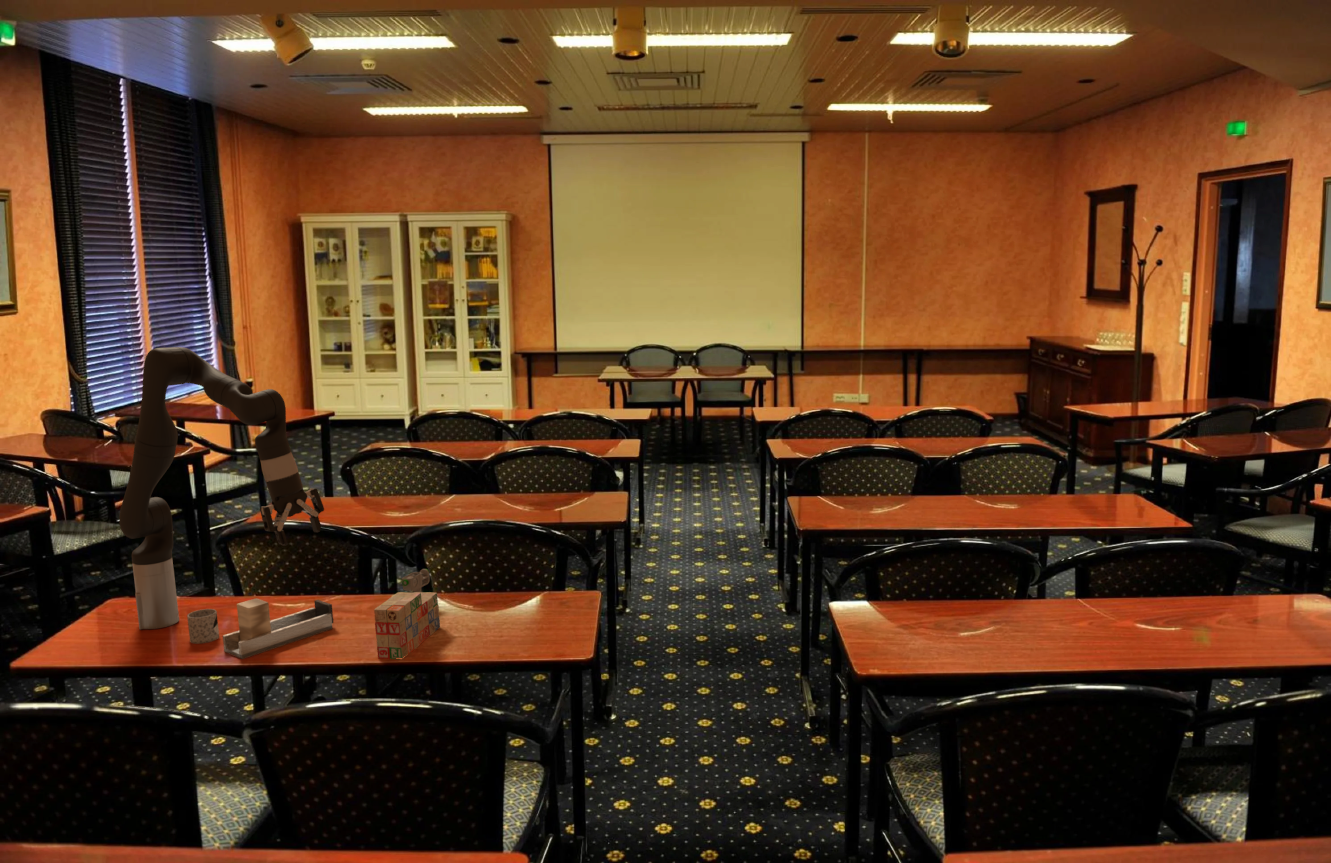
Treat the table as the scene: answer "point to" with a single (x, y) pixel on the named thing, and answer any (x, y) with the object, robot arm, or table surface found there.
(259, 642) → the chute
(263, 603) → the birch block
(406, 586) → the mechanical component
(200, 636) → the mug
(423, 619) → the stack of blocks
